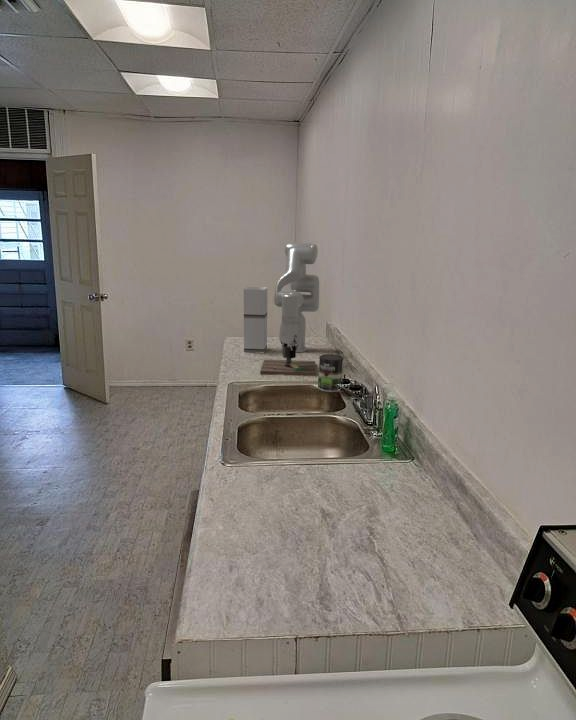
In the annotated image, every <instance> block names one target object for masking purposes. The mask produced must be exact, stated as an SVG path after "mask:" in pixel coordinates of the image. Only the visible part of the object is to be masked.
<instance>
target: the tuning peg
mask: <svg viewBox="0 0 576 720" xmlns="http://www.w3.org/2000/svg"><path fill="white" fill-rule="evenodd" d="M290 350H291V348H290V346H288V347H283V355H282V358H284V359H285V360H286V363H285V366H291V367H293V368H299V367H298V366H296V365H294V364H293V363H291V360H292V358H290Z"/></svg>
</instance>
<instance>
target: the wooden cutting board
mask: <svg viewBox="0 0 576 720" xmlns="http://www.w3.org/2000/svg"><path fill="white" fill-rule="evenodd" d="M285 363H286V359H264V360H263V362H262V365H261V367H260V375H274V374H285V376H313V377H314V376H316V373H317V372H316V369H317V368H316V360H297V359H295V360H292V359H291V363H293V364H294V365H296V366H298V367H299V368H293V367H291V366H285ZM316 377H317V376H316Z"/></svg>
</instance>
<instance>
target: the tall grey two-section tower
mask: <svg viewBox="0 0 576 720" xmlns="http://www.w3.org/2000/svg"><path fill="white" fill-rule="evenodd" d="M266 349H268V287H266V286H247V287H246V288H243V352H244V353H255V352H265V353H266V351H267V350H266ZM265 350H266V351H265Z"/></svg>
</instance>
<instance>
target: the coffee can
mask: <svg viewBox="0 0 576 720" xmlns="http://www.w3.org/2000/svg"><path fill="white" fill-rule="evenodd" d="M318 357H319V361H318V362H319V368H318V386H317V387H318V390H319V391H321V392H325V393H337V392H340V391H339V390H338V389H337V387H336V386H335V385H334V384H340V383H341V382H342V383H343V373H344V360H345V359H344V358H345V357H344V356H342V355H338V354H335V353H334V354H331V353H329V354H327V353H326V354H322V355H320V356H318Z"/></svg>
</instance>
